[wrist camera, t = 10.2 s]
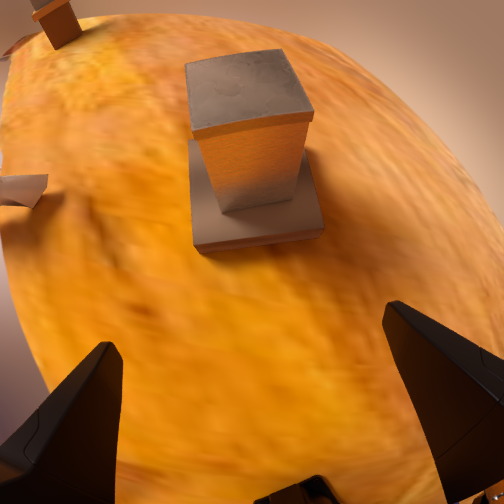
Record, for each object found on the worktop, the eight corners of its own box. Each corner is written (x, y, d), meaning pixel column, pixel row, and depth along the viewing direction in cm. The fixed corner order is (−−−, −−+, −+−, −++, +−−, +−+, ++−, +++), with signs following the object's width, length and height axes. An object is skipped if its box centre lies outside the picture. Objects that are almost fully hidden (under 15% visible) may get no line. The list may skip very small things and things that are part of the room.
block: (316, 240, 24) (324, 227, 21) (200, 255, 24) (193, 245, 21) (294, 146, 27) (298, 127, 24) (194, 158, 26) (188, 139, 23)
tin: (294, 200, 22) (314, 110, 12) (220, 215, 21) (191, 131, 12) (276, 142, 23) (281, 48, 13) (209, 154, 23) (184, 64, 13)
